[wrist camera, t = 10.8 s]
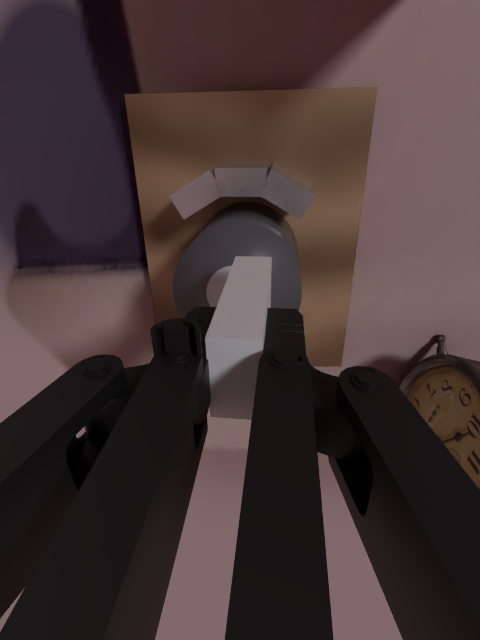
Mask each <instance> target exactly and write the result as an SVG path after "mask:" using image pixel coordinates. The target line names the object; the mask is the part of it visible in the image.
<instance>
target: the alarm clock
mask: <svg viewBox="0 0 480 640" xmlns="http://www.w3.org/2000/svg"><path fill="white" fill-rule="evenodd" d="M436 341H437V342H438V347H437V355H433V356H430V357H427V358H425V359H423V360H422V361H420V362H419V363H418V364H416V365H415V366H414V367H413V368H412V369H411V370H410V371H409V372H408V373H407V374H406V376H405V377H404V378H403V380H402V382H401V383H400V385H399V388H400V390H401V391H402V392H403V393H404V395H405V396H406V397H407V398H408V400H409V401H410V402H411V403H412V405H413V406H414V407H415V408H416V410H417V411H418V412H419V414H420V415H421V416H422V417H423V419H424V420H425V421H426V422H427V424H428V425H429V426H430V427H431V429H432V430H433V431H434V432H435V434H436V435H437V436H438V437H439V439H440V440H441V441H442V443H443V444H444V445H445V446H446V448H447V449H448V450H449V451H450V453H451V454H452V455H453V456H454V458H455V459H456V460H457V461H458V463H459V464H460V465H461V467H462V468H463V469H464V470H465V472H466V473H467V474H468V475H469V477H470V478H471V479H472V480H473V482H474V483H475V484H476V485H477V487H478V488H479V489H480V362H479V361H475V360H470V359H465V358H461V357H457V356H453V355H448V353H447V349H446V347H445V343H444V342H445V341H446V338H445V336H444V335H438V336H436Z"/></svg>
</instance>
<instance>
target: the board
mask: <svg viewBox="0 0 480 640" xmlns="http://www.w3.org/2000/svg"><path fill="white" fill-rule="evenodd" d="M376 93H377V87H351V88H317V89H283V90H250V91H216V92H182V93H148V94H124V95H125V102H126V110H127V117H128V124H129V131H130V139H131V146H132V153H133V160H134V168H135V175H136V182H137V189H138V197H139V204H140V211H141V218H142V226H143V233H144V240H145V248H146V255H147V262H148V269H149V277H150V284H151V291H152V298H153V306H154V313H155V320H156V324H157V323H159V322H161V321H164V320H168V319H174V318H182V317H181V316H180V314H179V312H178V310H177V308H176V305H175V302H174V297H173V289H172V284H173V276H174V271H175V268H176V266H177V263H178V261H179V260H180V258H181V256H182V255H183V253H184V252H185V251H186V249H187V248H188V247H189V246H190V244H191V243H192V242H193V241H194V239H195V238H196V237H197V235H198V234H199V233H200V232H201V230H202V229H203V228H204V226H205V225H206V224H207V223H208V221H209V220H210V219H211V218H212V217H213V216H214V215H215V214H216V213H217V212H218V211H220V210H221V209H223V208H225V207H227V206H229V205H232V204H235V203H240V202H255V203H260V204H263V205H266V206H268V207H270V208H272V209H274V210H275V211H277V212H278V213H279V214H280V215H282V216H283V217H284V218H285V220H286V221H287V222H288V223H289V225H290V226H291V228H292V230H293V232H294V235H295V238H296V244H297V251H298V259H299V268H300V276H301V284H302V299H301V304H302V306H303V315H304V324H305V333H306V334H305V346H306V357H307V358H308V360H309V363H310V365H315V366H338V367H341V363H342V355H343V348H344V340H345V332H346V324H347V317H348V309H349V301H350V293H351V286H352V278H353V270H354V263H355V255H356V247H357V239H358V232H359V224H360V216H361V208H362V201H363V193H364V185H365V178H366V170H367V162H368V154H369V147H370V139H371V131H372V124H373V116H374V108H375V100H376ZM226 161H269V170H270V168H271V166H272V164H273V163H275V164H277V165H279V166H280V167H282V168H284V169H285V170H287V171H288V172H290V173H292V174H293V175H295V176H296V177H298V178H300V179H301V180H303V181H304V182H306V183H308V184H309V185H311V187H312V189H313V191H314V194H315V196H316V197H315V198H314V200H313V201H312V203H311V204H310V206H309V208H308V209H307V211H306V212H305V214H304V215H303V217H302V219H301V220H299V219H298V218H296V217H294V216H293V215H291V214H289V213H288V212H286V211H284V210H283V209H281V208H279V207H278V206H276V205H274V204H273V203H271V202H269V201H268V200H266V199H264V198H263V197H219V198H218V199H216V200H215V201H213V202H211V203H210V204H208V205H207V206H205V207H203V208H202V209H200V210H199V211H197V212H195V213H194V214H192V215H191V216H189V217H187V218H186V219H183V217H182V216H181V214H180V213H179V211H178V210H177V208H176V207H175V205H174V204H173V202H172V200H171V199H170V197H169V196H170V195H172V194H173V193H175V192H176V191H178V190H179V189H181V188H182V187H184V186H186V185H187V184H189V183H190V182H192V181H193V180H195V179H196V178H198V177H199V176H201V175H202V174H204V173H205V172H207V171H208V170H210V169H212V168H213V167H215V166H217V165H218V164H220V163H221V164H222V163H224V162H226Z"/></svg>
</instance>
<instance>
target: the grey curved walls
mask: <svg viewBox="0 0 480 640" xmlns="http://www.w3.org/2000/svg"><path fill="white" fill-rule="evenodd" d="M169 197H170V199H171V200H172V202H173V204H174V205H175V207H176V208H177V210H178V211H179V213H180V214H181V216H182V217H183V219H186V218H187V217H189V216H191V215H192V214H194V213H195V212H197V211H199V210H200V209H202V208H203V207H205V206H207V205H208V204H210V203H211V202H213V201H215V200H216V199H218V198H219V197H263V198H264V199H266V200H268V201H269V202H271V203H273V204H274V205H276V206H278V207H279V208H281V209H283V210H284V211H286V212H288V213H289V214H291V215H293V216H294V217H296V218H298V219H299V220H301V219H302V217H303V215H304V214H305V212H306V211H307V209H308V208H309V206H310V204H311V203H312V201H313V200H314V198H315V197H316V196H315V194H314V191H313V189H312V187H311V185H309V184H308V183H306V182H304V181H303V180H301V179H300V178H298V177H296V176H295V175H293V174H292V173H290V172H288V171H287V170H285V169H284V168H282V167H280V166H279V165H277V164H275V163H273V164H272V166H271V168H270V170H269V161H226V162H224V163H222V164H221V163H220V164H218V165H217V166H215V167H213V168H212V169H210V170H208V171H207V172H205V173H204V174H202V175H201V176H199V177H198V178H196V179H195V180H193V181H192V182H190V183H189V184H187V185H186V186H184V187H182V188H181V189H179V190H178V191H176V192H175V193H173V194H172V195H170V196H169ZM299 312H300V313H301V314H302V315H303V306H302V304H300V308H299ZM303 321H304V315H303ZM304 333H305V324H304ZM305 334H306V333H305Z"/></svg>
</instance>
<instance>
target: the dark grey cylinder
mask: <svg viewBox="0 0 480 640" xmlns="http://www.w3.org/2000/svg"><path fill="white" fill-rule="evenodd" d="M236 256H252V257H272V271H271V308H288V309H297V310H298V311H299V308H300V304H301V299H302V284H301V276H300V268H299V259H298V251H297V244H296V238H295V235H294V232H293V230H292V228H291V226H290V225H289V223H288V222H287V221H286V220H285V218H284V217H283V216H282V215H280V214H279V213H278V212H277V211H275V210H274V209H272V208H270V207H268V206H266V205H263V204H260V203H255V202H240V203H235V204H232V205H229V206H227V207H225V208H223V209H221V210H220V211H218V212H217V213H216V214H215V215H214V216H213V217H212V218H211V219H210V220H209V221H208V223H207V224H206V225H205V226H204V228H203V229H202V230H201V232H200V233H199V234H198V235H197V237H196V238H195V239H194V241H193V242H192V243H191V244H190V246H189V247H188V248H187V249H186V251H185V252H184V253H183V255H182V256H181V258H180V260H179V261H178V263H177V266H176V268H175V271H174V276H173V284H172V289H173V297H174V302H175V305H176V308H177V310H178V312H179V314H180V316H181V317H182V318H185V316H186V314H187V313H188V312H189V311H191V310H192V309H193V308H195V307H196V306H202V307H217V305H218V302H219V299H220V297H221V294H222V291H223V289H224V286H225V283H226V281H227V278H228V275H229V273H230V270H231V267H232V265H233V262H234V259H235V257H236Z"/></svg>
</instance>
